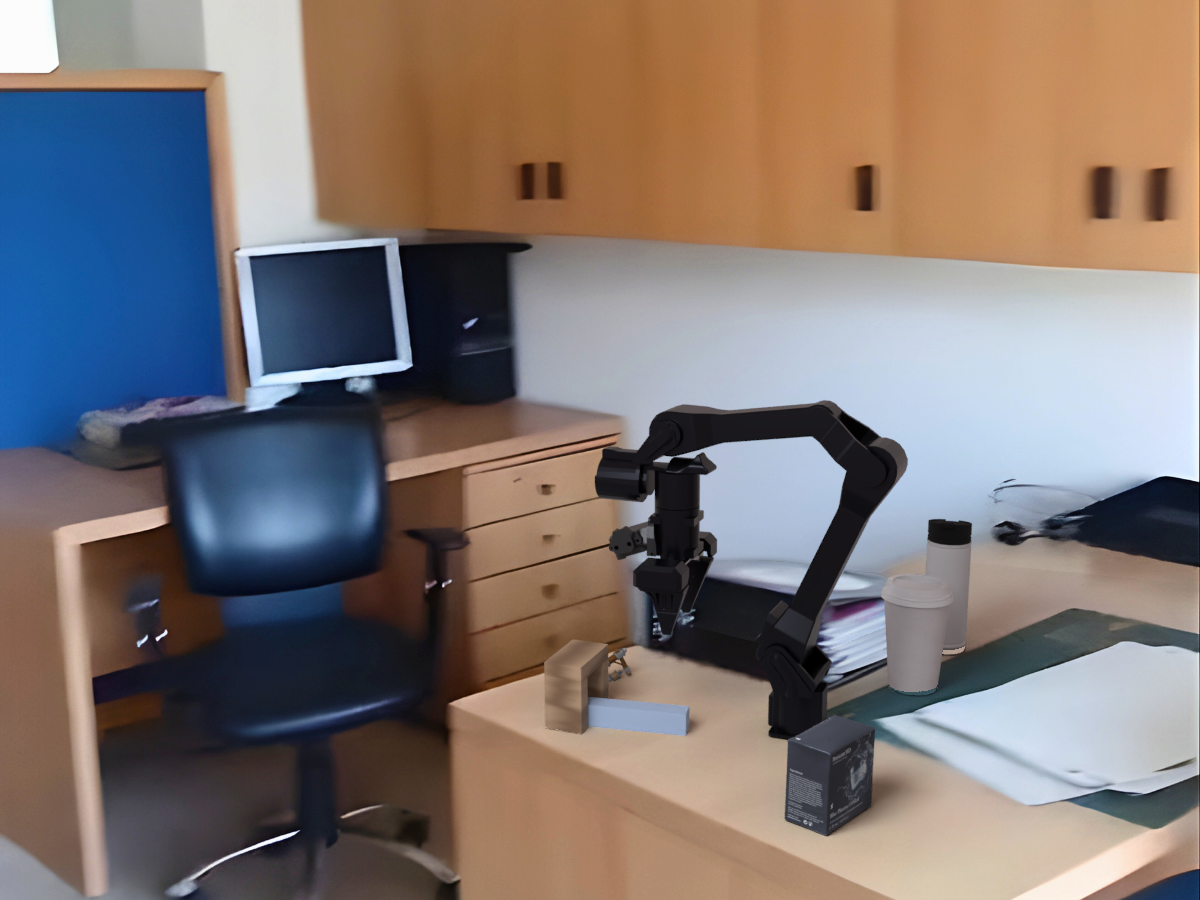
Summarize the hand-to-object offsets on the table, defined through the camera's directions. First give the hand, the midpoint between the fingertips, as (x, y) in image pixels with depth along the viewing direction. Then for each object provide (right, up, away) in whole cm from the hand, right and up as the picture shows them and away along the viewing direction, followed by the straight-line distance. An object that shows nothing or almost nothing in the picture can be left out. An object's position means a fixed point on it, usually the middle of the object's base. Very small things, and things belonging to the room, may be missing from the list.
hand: (676, 623), depth 160 cm
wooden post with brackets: (-10, -10, +13) cm, 19 cm away
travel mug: (+41, -7, +25) cm, 49 cm away
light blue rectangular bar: (-7, -13, -2) cm, 15 cm away
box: (+15, -17, -25) cm, 34 cm away
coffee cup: (+33, -10, +10) cm, 36 cm away
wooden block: (-13, -12, 0) cm, 18 cm away
